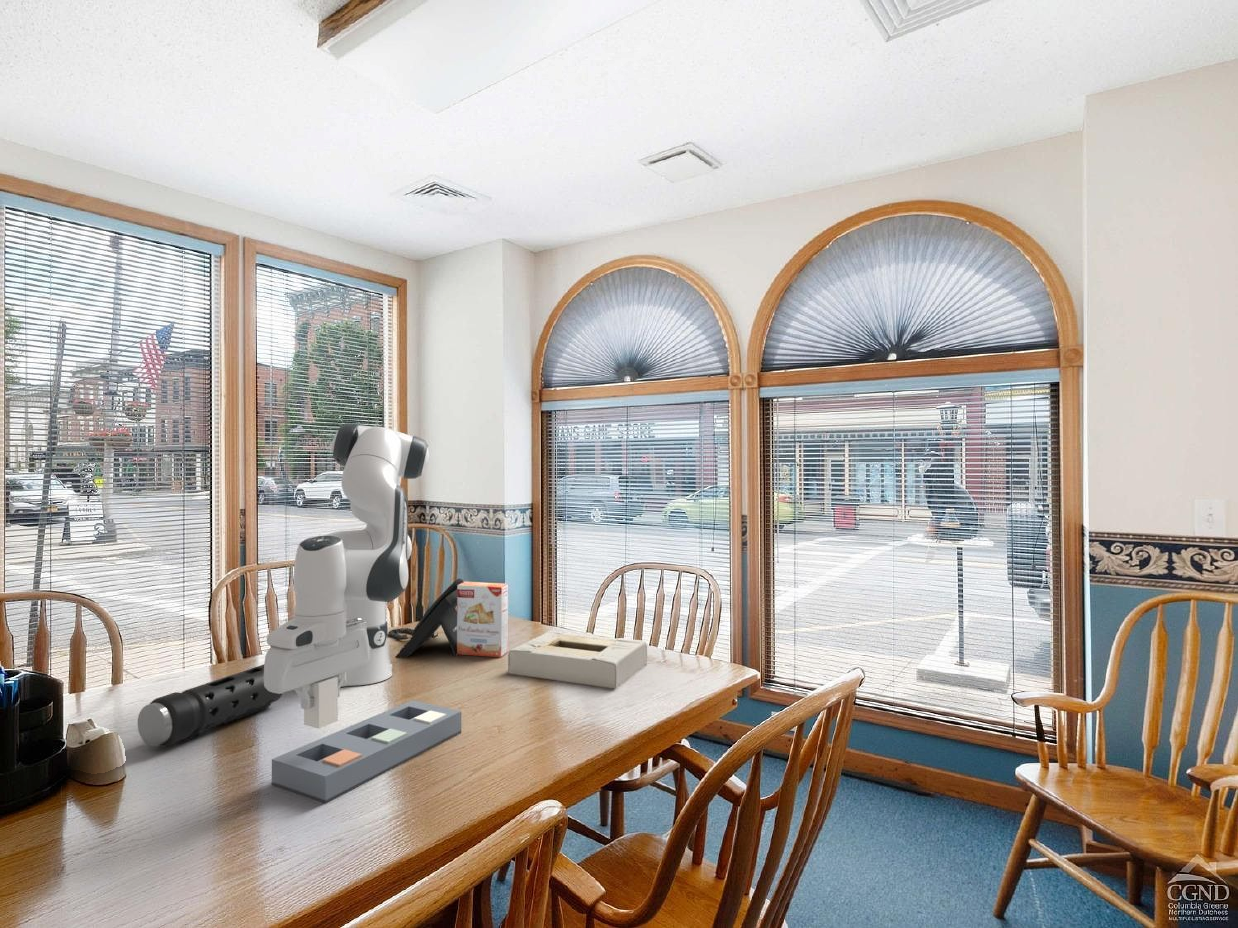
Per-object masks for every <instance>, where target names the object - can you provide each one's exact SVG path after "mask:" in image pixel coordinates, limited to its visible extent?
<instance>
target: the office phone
mask: <svg viewBox="0 0 1238 928" xmlns="http://www.w3.org/2000/svg"><path fill="white" fill-rule="evenodd" d="M463 582H464V580H463V579H461V578H457V579H455V580H454V581H453V583H451V584H450V585H449V586H448V587H447V588H446V589H445V590H444V591H443V593H442V594H440V595H439V597H438V598H437V599H436V600H435V601H434V602H433V603H432V604H431V606H429V607H428V609H427V610H426V611H425V613H424V614H423V616H422V617H421V618H420V620H419V621H418V623H417V624H416V626H415V627H414V628H408V627H400V628H399V627H398V628H394V629H390V630H389V631H388V635H387V637H391V638H395V639H396V640H398V641H403V640H404V641H405V640H408V641H407V642H406V643H405V644H404V645H403V647H402V648H401V649H400V650H399V652H398V653H397V654H396V656H395V658H405V659H406V658H408V657H410V656H411V655H413V653H414V652H416V651H417V650H418V649H419V648H420V647H421V646H422V645H423V644H424V643H426V642H428V640H429V639H431V638H437V637H439V635H438V634H439V633H438V632H437V631H438V629H439V628H440V627H441V629H442V630H443V633H444V635H445V637H446V639H447V641H448V644H449V646H450V647H451V650H452V652H453V654H454V657H456V656H457V655H458V654H457V585H459V584H461V583H463ZM399 633H407V634H410V635H412V636H409V637H408V635H407V634H399ZM435 633H436V635H435Z"/></svg>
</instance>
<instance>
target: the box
mask: <svg viewBox="0 0 1238 928" xmlns="http://www.w3.org/2000/svg"><path fill="white" fill-rule="evenodd" d="M647 664H648V644H647V642H646V641H645V640H641V639H632V638H631V639H629V638H623V637H618V638H613V637H605V636H595V635H587V634H578V633H569V632H564V631H560V630H559V631H558V630H551V629H550V630H548V631H547V632H544V633H543V634H541V635H539V636H537V637H535V638H533V639H531V640H528V641H527V642H524V643H522V644H520V645H518V646H516V647H513V648H511V649H509V650H508V652H507V666H508V667H507V671H508V674H510V675H517V676H524V677H525V676H526V677H532V678H539V679H547V680H552V681H553V680H554V681H560V682H567V683H575V684H581V685H587V686H588V685H589V686H595V687H601V688H602V687H603V688H610V689H617V688H619V687H620V686H621V685H622V684H623V683H624V682H626V681H627V680H628V679H630V678H631V677H632V676H633V675H634V674H636V673H638V671H639V670H641V669H642V668H643V667H645V666H646V665H647Z"/></svg>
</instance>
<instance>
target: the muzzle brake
mask: <svg viewBox="0 0 1238 928" xmlns="http://www.w3.org/2000/svg"><path fill="white" fill-rule="evenodd" d="M283 694H284V693H281V694H277V693H273V692H269V691H268V690H267V689H266V688H265V686H264V664H260V665H258V666H256V667H253V668H252V667H251V668H249V669H246V670H243V671H239V672H236V673H234V674H231V675H228V676H225V677H221V678H218V679H216V680H212V681H209V682H207V683H204V684H201V685H198V686H193V687H191V688H188V689H185V690H183V691H182V692H178V691H177V692H171V693H169V694H165V695H162V696H160V697H156V698H155V699H153V700H152V701H151V702H149V704H147V705H145V706H143V707H142V708H141V710H140V711H139V713H138V717H137V729H138V733H139V736H140V737H141V740H142V741H143V742H144V743H145V744H146V745H148V746H149V747H152V748H153V747H154V748H155V747H158V746H159V747H160V746H164V747H168V746H170V745H173V744H175V743H177V742H182V743H185V742H187V741H190V740H192V739H194V738H197V737H199V736H200V734H201V732H202V731H205V730H207V729H210V728H212V727H215V726H218V725H227V723H230V722H231V721H237V720H239V719H242V718H244V717H247V716H249V715H252V714H254V713H257V712H259V711H262V710H264V709H267V708H269V707H271V704H272V703H274V702H277V701H279V700H280V698H281V697H282V695H283ZM231 704H232V705H231Z"/></svg>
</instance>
